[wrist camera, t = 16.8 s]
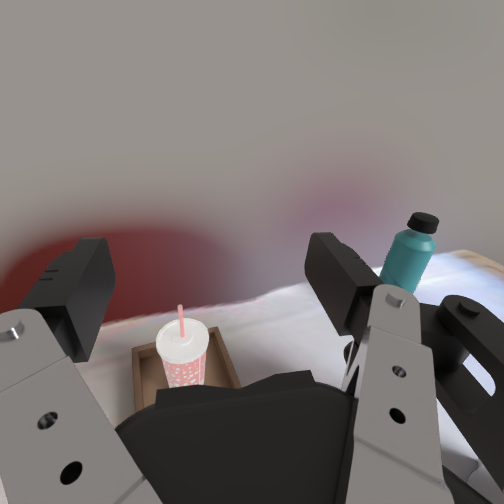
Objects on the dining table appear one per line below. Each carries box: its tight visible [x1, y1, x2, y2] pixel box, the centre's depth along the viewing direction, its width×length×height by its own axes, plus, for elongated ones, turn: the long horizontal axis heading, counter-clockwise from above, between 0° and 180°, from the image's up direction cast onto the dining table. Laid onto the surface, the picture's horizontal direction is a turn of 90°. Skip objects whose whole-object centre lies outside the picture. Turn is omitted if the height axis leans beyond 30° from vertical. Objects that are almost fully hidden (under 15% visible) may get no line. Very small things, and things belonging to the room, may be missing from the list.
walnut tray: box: [132, 326, 241, 413], centre depth 37 cm, size 13×13×3 cm
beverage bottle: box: [379, 212, 439, 294], centre depth 48 cm, size 6×7×20 cm
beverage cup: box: [156, 305, 209, 388], centre depth 33 cm, size 6×6×14 cm
